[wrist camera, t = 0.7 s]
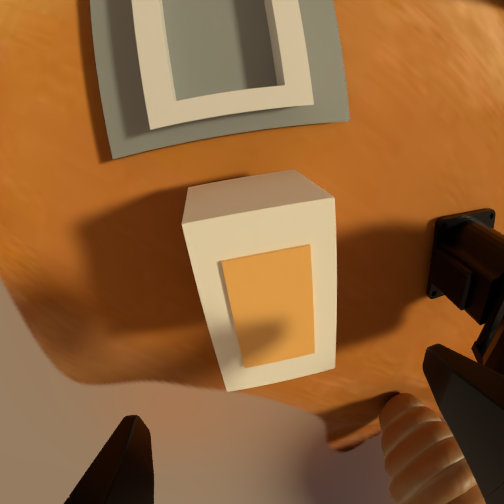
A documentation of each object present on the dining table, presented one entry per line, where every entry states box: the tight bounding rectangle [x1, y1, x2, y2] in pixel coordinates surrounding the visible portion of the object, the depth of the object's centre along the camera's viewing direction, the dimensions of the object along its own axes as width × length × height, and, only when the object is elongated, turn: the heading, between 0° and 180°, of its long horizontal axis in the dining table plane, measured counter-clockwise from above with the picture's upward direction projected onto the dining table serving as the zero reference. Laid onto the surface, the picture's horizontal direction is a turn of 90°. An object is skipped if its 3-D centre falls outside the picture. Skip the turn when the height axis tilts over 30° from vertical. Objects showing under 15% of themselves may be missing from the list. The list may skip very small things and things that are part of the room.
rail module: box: [182, 169, 337, 392], centre depth 15 cm, size 5×8×7 cm, turn 8°
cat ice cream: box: [379, 393, 486, 504], centre depth 20 cm, size 9×8×18 cm
